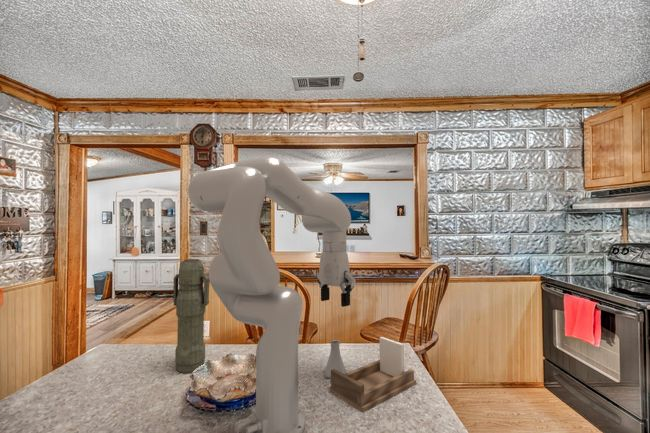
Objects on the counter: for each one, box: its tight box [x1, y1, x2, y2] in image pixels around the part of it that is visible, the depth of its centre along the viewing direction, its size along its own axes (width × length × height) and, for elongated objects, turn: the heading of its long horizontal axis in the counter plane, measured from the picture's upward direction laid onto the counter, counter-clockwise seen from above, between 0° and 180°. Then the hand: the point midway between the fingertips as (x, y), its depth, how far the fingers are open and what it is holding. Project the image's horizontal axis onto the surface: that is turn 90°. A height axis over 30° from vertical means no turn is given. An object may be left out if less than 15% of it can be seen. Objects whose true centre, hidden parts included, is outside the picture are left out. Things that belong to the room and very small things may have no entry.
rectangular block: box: [378, 336, 405, 377], centre depth 93 cm, size 1×8×10 cm, turn 39°
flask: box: [323, 339, 347, 380], centre depth 96 cm, size 7×7×10 cm
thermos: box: [172, 258, 210, 375], centre depth 102 cm, size 9×12×35 cm
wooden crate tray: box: [328, 359, 417, 413], centre depth 88 cm, size 22×13×6 cm, turn 129°
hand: (335, 303), depth 97 cm, fingers open, 9 cm apart
